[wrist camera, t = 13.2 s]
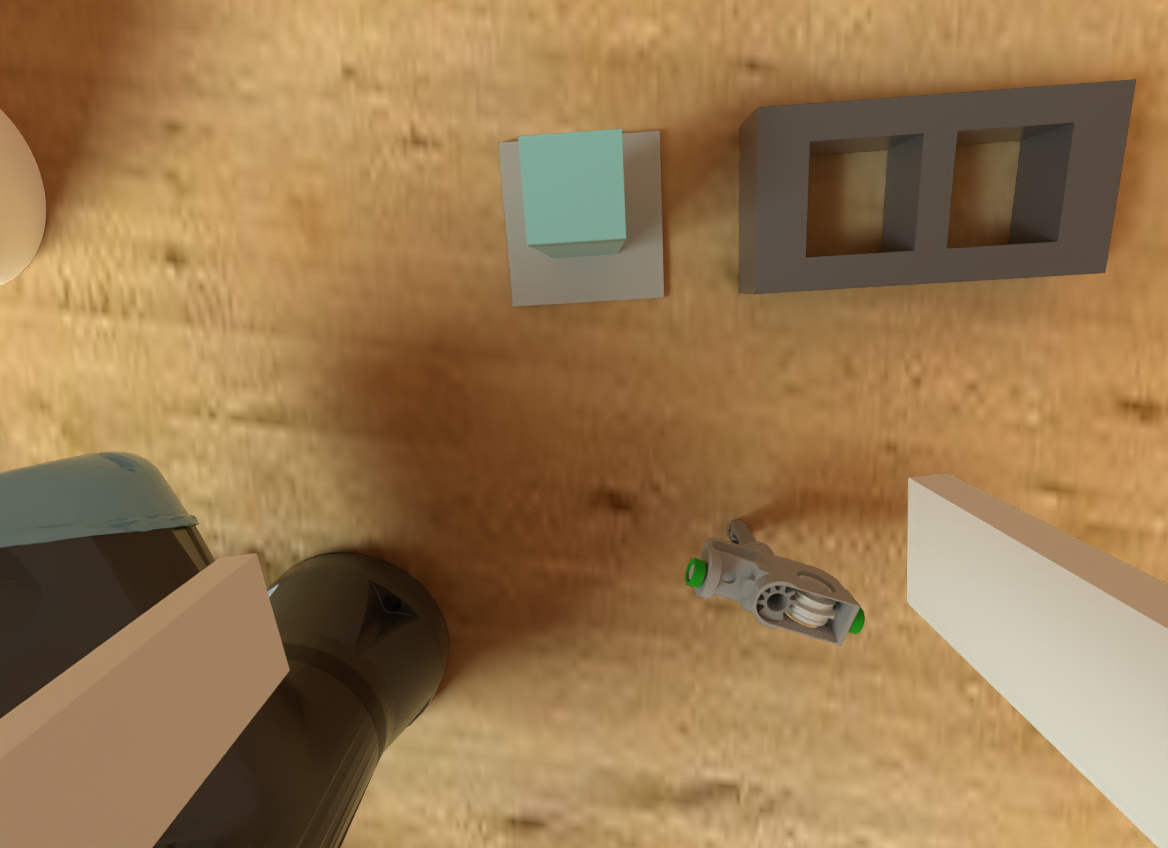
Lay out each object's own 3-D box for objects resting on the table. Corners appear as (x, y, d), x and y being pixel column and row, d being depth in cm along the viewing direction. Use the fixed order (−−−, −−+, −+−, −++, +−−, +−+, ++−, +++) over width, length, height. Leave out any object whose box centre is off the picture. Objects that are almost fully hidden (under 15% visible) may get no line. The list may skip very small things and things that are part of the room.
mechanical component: (677, 491, 41) (702, 557, 31) (810, 531, 41) (875, 608, 31) (664, 527, 41) (684, 602, 32) (794, 566, 42) (853, 652, 32)
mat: (514, 306, 38) (512, 306, 37) (499, 144, 35) (498, 142, 35) (663, 297, 37) (664, 297, 37) (658, 133, 35) (660, 130, 34)
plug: (552, 258, 36) (526, 245, 24) (547, 188, 35) (517, 136, 23) (617, 254, 36) (626, 238, 24) (614, 183, 35) (622, 128, 23)
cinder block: (738, 292, 37) (754, 293, 33) (740, 127, 35) (757, 107, 31) (1051, 273, 36) (1105, 272, 32) (1074, 102, 34) (1136, 79, 30)
